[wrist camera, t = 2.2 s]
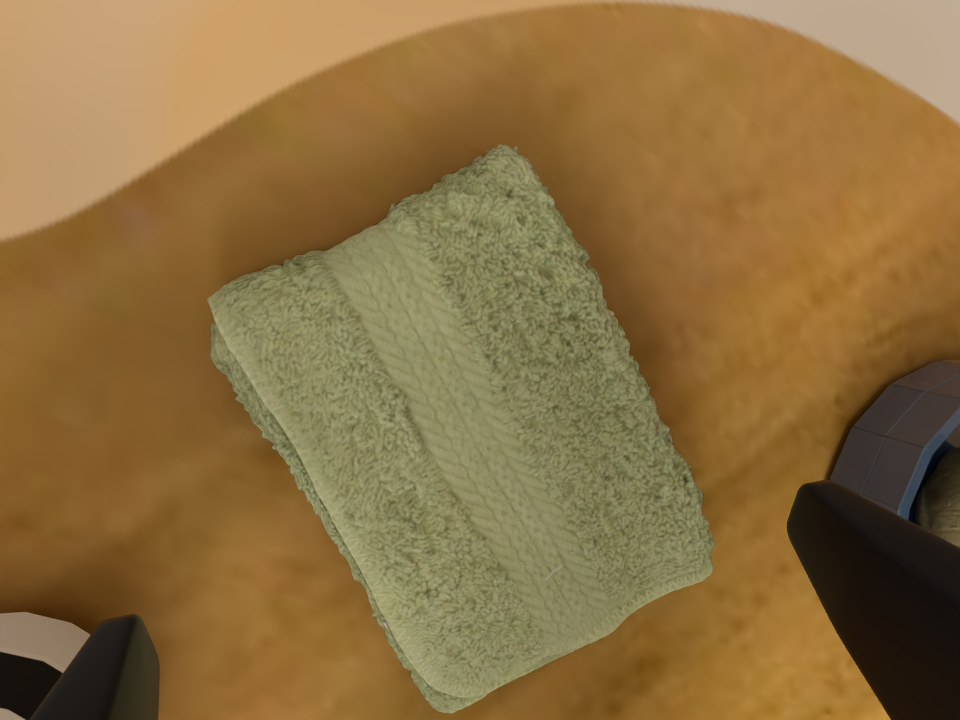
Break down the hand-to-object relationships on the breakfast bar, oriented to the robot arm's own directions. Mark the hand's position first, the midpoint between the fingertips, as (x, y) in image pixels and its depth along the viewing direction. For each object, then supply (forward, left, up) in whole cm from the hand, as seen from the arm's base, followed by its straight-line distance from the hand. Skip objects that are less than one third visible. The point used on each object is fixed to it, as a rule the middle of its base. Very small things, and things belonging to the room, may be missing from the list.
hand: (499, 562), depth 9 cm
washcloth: (-2, -3, -17) cm, 17 cm away
